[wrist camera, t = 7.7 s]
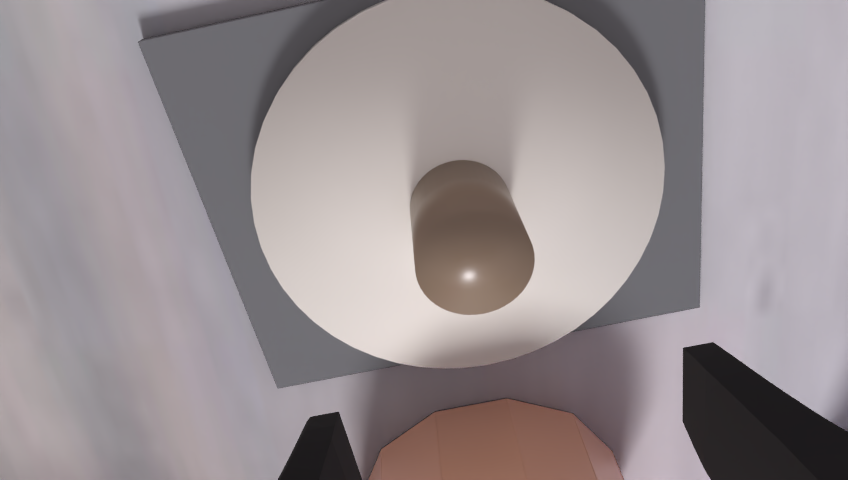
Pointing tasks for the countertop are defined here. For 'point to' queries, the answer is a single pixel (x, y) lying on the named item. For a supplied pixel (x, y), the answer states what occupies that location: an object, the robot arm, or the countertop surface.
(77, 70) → the countertop surface
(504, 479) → the bowl
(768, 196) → the countertop surface
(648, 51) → the mat
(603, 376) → the countertop surface
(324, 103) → the lid
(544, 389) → the countertop surface
